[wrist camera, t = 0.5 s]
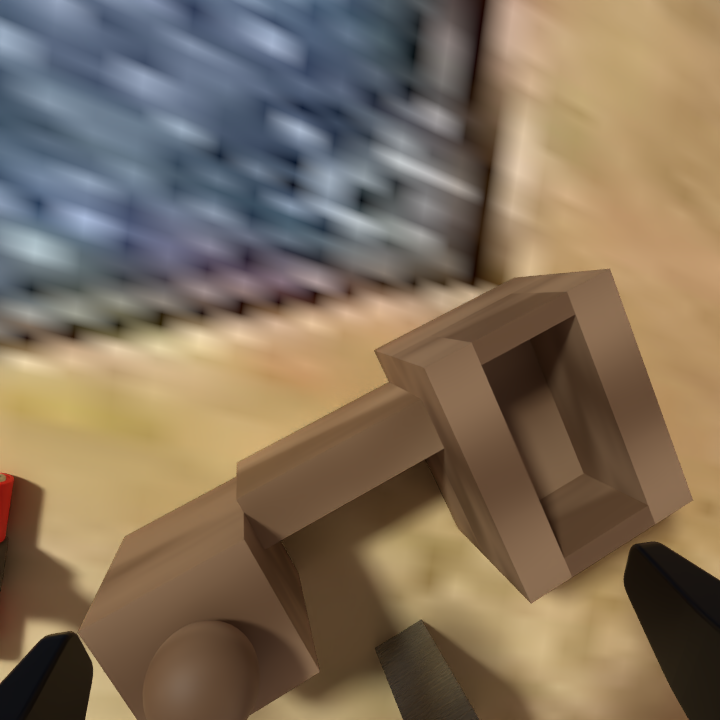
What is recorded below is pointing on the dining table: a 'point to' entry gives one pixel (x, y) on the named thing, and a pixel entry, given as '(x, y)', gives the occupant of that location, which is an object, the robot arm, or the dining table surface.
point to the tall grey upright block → (422, 678)
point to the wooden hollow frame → (384, 461)
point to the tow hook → (4, 516)
